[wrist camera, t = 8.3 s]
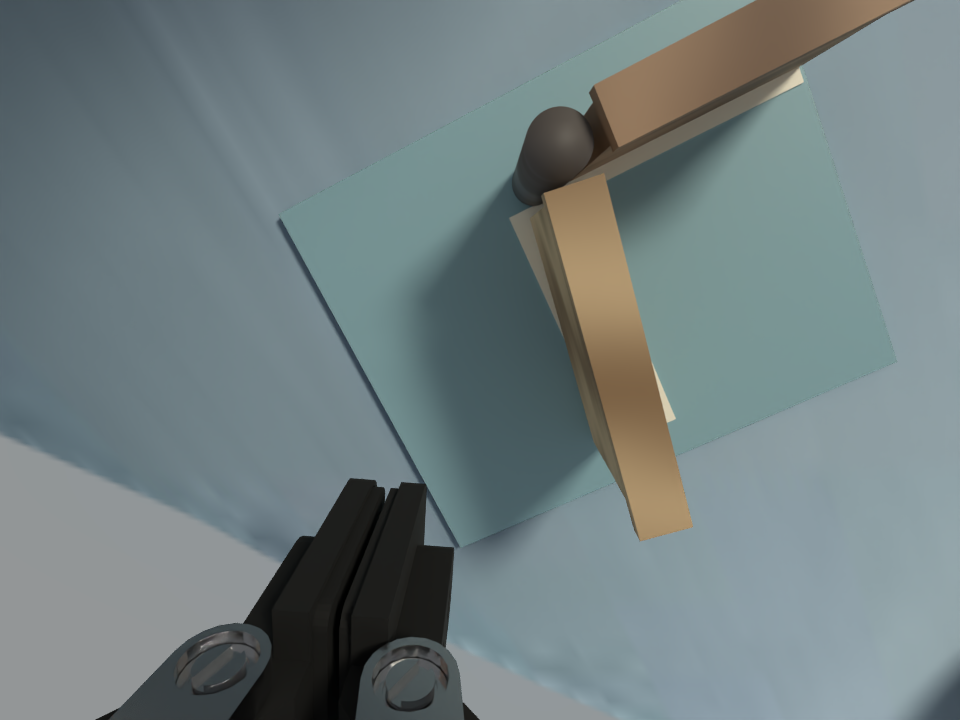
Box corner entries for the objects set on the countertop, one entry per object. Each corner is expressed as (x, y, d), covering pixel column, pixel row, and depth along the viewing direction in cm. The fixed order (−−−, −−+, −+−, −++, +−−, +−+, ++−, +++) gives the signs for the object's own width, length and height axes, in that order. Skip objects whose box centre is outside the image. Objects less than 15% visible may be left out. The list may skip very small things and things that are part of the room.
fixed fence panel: (790, 25, 19) (996, -131, 11) (805, 72, 19) (1014, -48, 11) (504, 171, 20) (514, 121, 12) (523, 213, 20) (544, 189, 13)
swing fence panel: (523, 215, 20) (543, 193, 13) (562, 202, 20) (604, 173, 13) (590, 447, 22) (640, 541, 15) (625, 437, 22) (693, 527, 15)
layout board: (761, -39, 18) (768, -48, 18) (889, 359, 22) (899, 362, 21) (282, 215, 21) (277, 213, 20) (461, 543, 24) (460, 549, 23)
